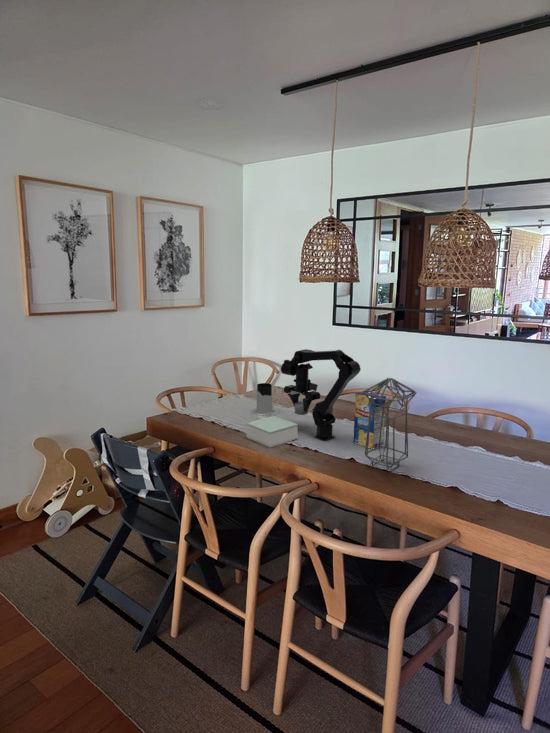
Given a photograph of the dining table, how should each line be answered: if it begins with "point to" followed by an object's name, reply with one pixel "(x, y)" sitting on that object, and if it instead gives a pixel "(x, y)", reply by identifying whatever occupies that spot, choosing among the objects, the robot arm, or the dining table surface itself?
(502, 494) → the dining table surface
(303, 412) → the gray rounded pebble
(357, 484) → the dining table surface
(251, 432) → the box
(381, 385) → the geometric lantern
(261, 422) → the lid
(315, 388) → the robot arm
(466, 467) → the dining table surface
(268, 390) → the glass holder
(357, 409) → the beverage box
